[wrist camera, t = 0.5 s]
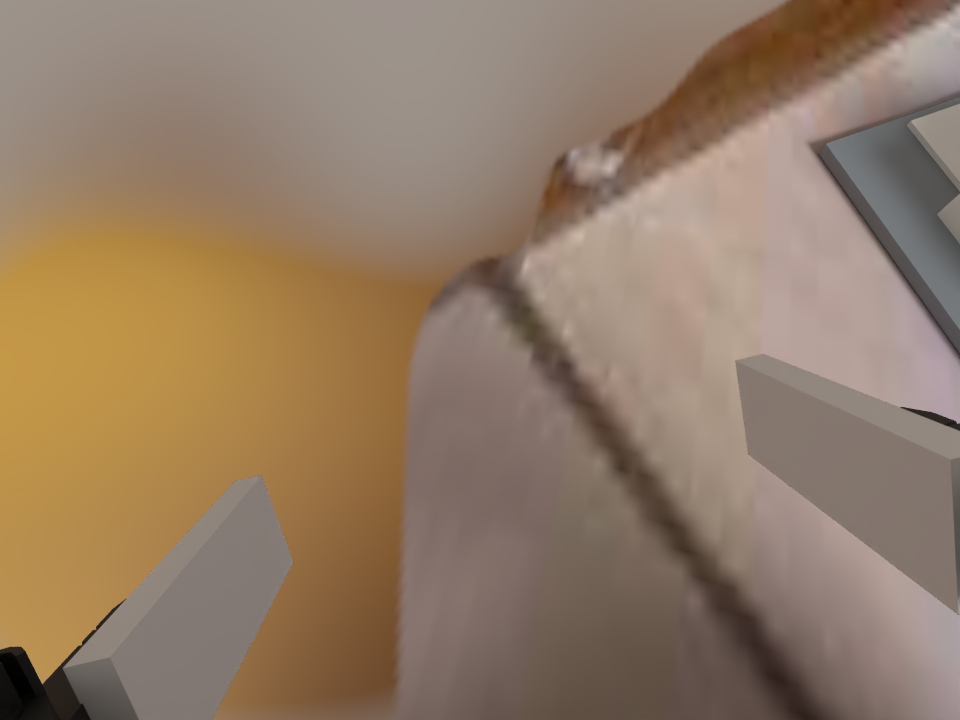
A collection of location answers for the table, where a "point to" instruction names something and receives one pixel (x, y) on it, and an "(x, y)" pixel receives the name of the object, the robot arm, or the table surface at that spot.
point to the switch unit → (911, 199)
